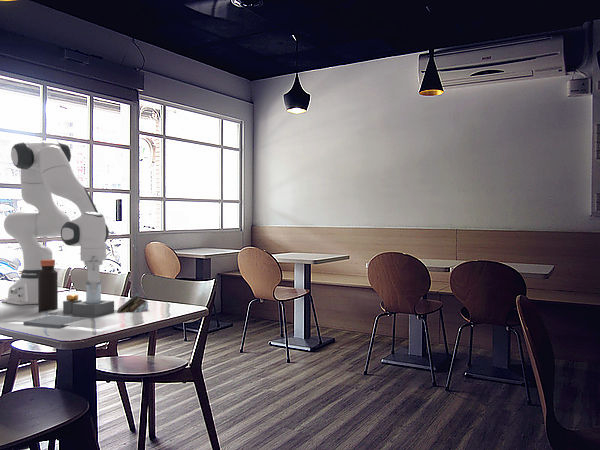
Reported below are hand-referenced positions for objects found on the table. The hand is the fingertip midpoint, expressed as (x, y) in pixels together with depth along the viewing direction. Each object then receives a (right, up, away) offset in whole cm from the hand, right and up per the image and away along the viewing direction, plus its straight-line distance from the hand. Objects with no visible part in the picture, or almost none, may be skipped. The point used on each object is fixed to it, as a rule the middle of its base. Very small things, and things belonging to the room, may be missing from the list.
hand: (93, 292), depth 190 cm
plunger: (-9, -7, +4) cm, 12 cm away
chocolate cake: (+14, -9, +6) cm, 17 cm away
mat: (-8, -9, -13) cm, 18 cm away
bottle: (-21, -9, +9) cm, 25 cm away
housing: (-4, -9, +1) cm, 9 cm away
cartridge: (0, -8, 0) cm, 8 cm away
